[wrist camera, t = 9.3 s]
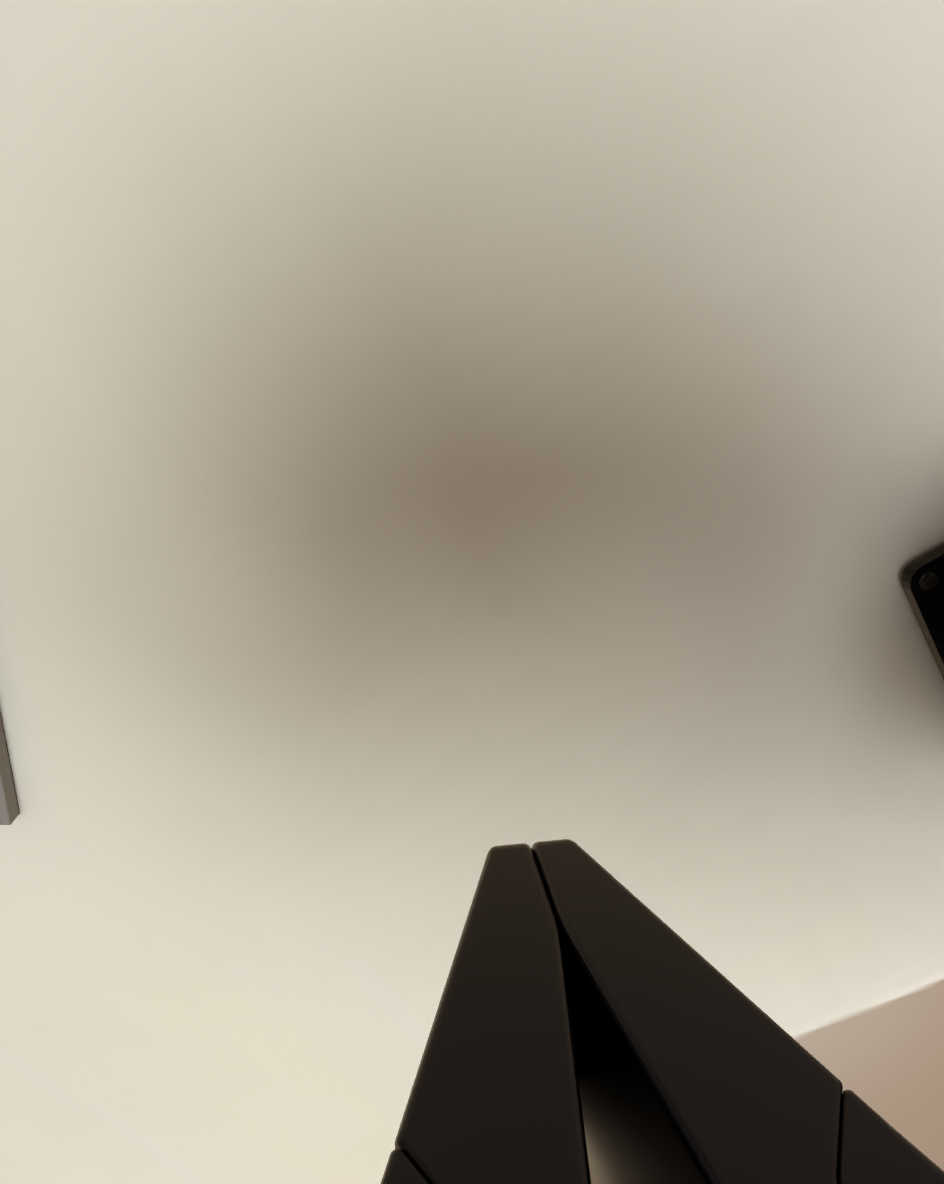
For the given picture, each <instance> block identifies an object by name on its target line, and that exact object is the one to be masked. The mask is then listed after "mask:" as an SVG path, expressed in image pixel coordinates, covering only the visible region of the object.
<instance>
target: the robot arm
mask: <svg viewBox="0 0 944 1184" xmlns="http://www.w3.org/2000/svg"><path fill="white" fill-rule="evenodd" d="M928 572H929V578H928V580H927V581H926V582H925V583H924V584H921V585H920V583H919V581H920V579H921V577H922V576H923V575H924V574H925V573H928ZM901 580H902V585H903V588H904V590H905V592H906V595H907V597H908V599H909V601H910V604H911V606H912V608H913V610H914V613H915V615H916V617H917V619H918V622H919V624H920V626H921V629H922V631H923V633H924V635H925V638H926V640H927V642H928V644H929V647H930V649H931V651H932V653H933V656H934V658H935V660H936V663H937V665H938V667H939V669H940V672H941V674H942V676H943V678H944V545H942V546H940V547H938V548H936V549H935V550H933V551H931V552H929V553H927V554H926V555H924V556H922V557H920V558H918V559H917V560H915V561H913V562H912V563H911V564H909V565H908V566H907V567H906V569H905V570H904V572H903V575H902V579H901ZM842 1088H843V1087H842V1083H841V1082H840V1080H839V1079H838V1078H836V1077H835V1076H834V1075H833V1074H832V1073H831V1072H830V1071H829V1070H828V1069H826V1068H825V1067H824V1066H823V1065H822V1064H821V1063H820V1062H819V1061H818V1060H816V1059H815V1058H814V1057H813V1056H812V1055H811V1054H810V1053H808V1051H806V1050H805V1049H804V1048H803V1047H802V1046H801V1045H800V1044H799V1043H798V1042H796V1041H795V1040H794V1039H793V1038H792V1037H791V1036H790V1035H789V1034H788V1033H786V1032H785V1031H784V1030H783V1029H782V1028H781V1027H780V1026H779V1025H778V1024H776V1023H775V1022H774V1021H773V1020H772V1019H771V1018H770V1017H769V1016H768V1015H766V1014H765V1013H764V1012H763V1011H762V1010H761V1009H760V1008H759V1007H757V1006H756V1005H755V1004H754V1003H753V1002H752V1001H751V1000H750V999H749V998H747V997H746V996H745V995H744V994H743V993H742V992H741V991H740V990H739V989H737V988H736V987H735V986H734V985H733V984H732V983H731V982H730V981H729V980H727V979H726V978H725V977H724V976H723V975H722V974H721V973H720V972H719V971H717V970H716V969H715V968H714V967H713V966H712V965H711V964H710V963H709V962H707V961H706V960H705V959H704V958H703V957H702V956H701V955H700V954H699V953H697V952H696V951H695V950H694V949H693V948H692V947H691V946H690V945H689V944H687V943H686V942H685V941H684V940H683V939H682V938H681V937H680V936H679V935H677V934H676V933H675V932H674V931H673V930H672V929H671V928H670V927H668V926H667V925H666V924H665V923H664V922H663V921H662V920H661V919H660V918H658V917H657V916H656V915H655V914H654V913H653V912H652V911H651V910H650V909H648V908H647V907H646V906H645V905H644V904H643V903H642V902H641V901H640V900H638V899H637V898H636V897H635V896H634V895H633V894H632V893H631V892H630V891H628V890H627V889H626V888H625V887H624V886H623V885H622V884H621V883H620V882H618V881H617V880H616V879H615V878H614V877H613V876H612V875H611V874H610V873H608V872H607V871H606V870H605V869H604V868H603V867H602V866H601V865H600V864H598V863H597V862H596V861H595V860H594V859H593V858H592V857H591V856H589V855H588V854H587V853H586V852H585V851H584V850H583V849H582V848H581V847H579V846H578V845H577V844H576V843H575V842H573V841H571V840H568V839H563V840H553V841H543V842H537V843H535V844H534V845H533V846H532V848H530V846H528V845H527V844H513V845H503V846H495V847H492V848H491V849H490V850H489V852H488V854H487V857H486V861H485V864H484V867H483V870H482V873H481V876H480V879H479V882H478V885H477V889H476V892H475V895H474V898H473V901H472V904H471V907H470V910H469V913H468V916H467V920H466V923H465V926H464V929H463V932H462V935H461V938H460V941H459V944H458V948H457V951H456V954H455V957H454V960H453V963H452V966H451V969H450V972H449V975H448V979H447V982H446V985H445V988H444V991H443V994H442V997H441V1000H440V1003H439V1007H438V1010H437V1013H436V1016H435V1019H434V1022H433V1025H432V1028H431V1031H430V1034H429V1038H428V1041H427V1044H426V1047H425V1050H424V1053H423V1056H422V1059H421V1062H420V1066H419V1069H418V1072H417V1075H416V1078H415V1081H414V1084H413V1087H412V1090H411V1093H410V1097H409V1100H408V1103H407V1106H406V1109H405V1112H404V1115H403V1118H402V1121H401V1125H400V1128H399V1131H398V1134H397V1137H396V1140H395V1150H393V1151H392V1152H391V1154H390V1157H389V1160H388V1163H387V1166H386V1169H385V1172H384V1175H383V1178H382V1182H381V1184H944V1171H942V1170H941V1169H940V1168H939V1167H938V1166H937V1165H936V1164H934V1163H933V1162H932V1161H931V1160H930V1159H929V1158H928V1157H926V1156H925V1155H924V1154H923V1153H922V1152H921V1151H919V1150H918V1149H917V1148H916V1147H915V1146H914V1145H912V1144H911V1143H910V1142H909V1141H908V1140H907V1139H905V1138H904V1137H903V1136H902V1135H901V1134H900V1133H899V1132H897V1131H896V1130H895V1129H894V1128H893V1127H892V1126H890V1125H889V1124H888V1123H887V1122H886V1121H885V1120H884V1119H883V1118H882V1117H880V1116H879V1115H878V1114H877V1113H876V1112H875V1111H874V1110H873V1109H872V1108H870V1107H869V1106H868V1105H867V1104H866V1103H865V1102H864V1101H863V1100H862V1099H860V1098H859V1097H858V1096H857V1095H856V1094H855V1093H854V1092H853V1091H851V1090H845V1091H844V1092H843V1094H842V1091H843V1089H842Z"/></svg>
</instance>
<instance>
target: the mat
mask: <svg viewBox="0 0 944 1184" xmlns="http://www.w3.org/2000/svg"><path fill="white" fill-rule="evenodd" d="M18 815H19V810H18V805H17V799H16V794H15V789H14V784H13V778H12V773H11V768H10V763H9V758H8V752H7V747H6V742H5V737H4V731H3V726H2V721H1V716H0V825H11V823H12V822H13V821H14V820H15V818H16V817H17V816H18Z"/></svg>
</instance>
